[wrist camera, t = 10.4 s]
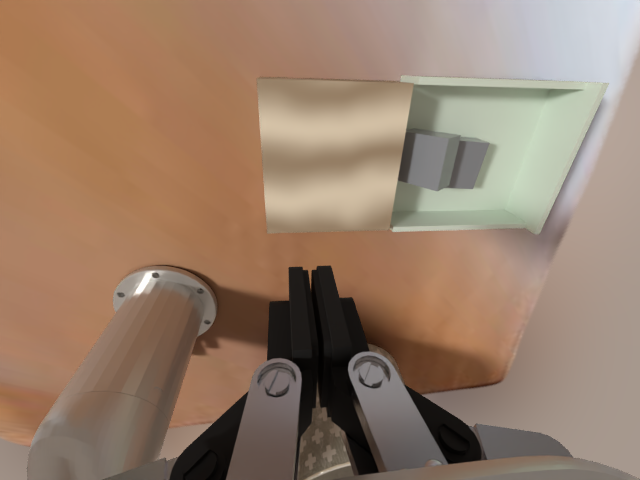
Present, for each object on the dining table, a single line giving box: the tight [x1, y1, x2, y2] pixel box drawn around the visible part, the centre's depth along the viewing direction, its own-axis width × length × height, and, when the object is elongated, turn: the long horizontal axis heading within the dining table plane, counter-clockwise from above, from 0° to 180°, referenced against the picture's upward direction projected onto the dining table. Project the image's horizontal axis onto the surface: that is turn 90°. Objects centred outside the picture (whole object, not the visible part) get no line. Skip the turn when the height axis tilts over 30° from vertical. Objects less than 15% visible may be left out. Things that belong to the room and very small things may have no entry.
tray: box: [390, 75, 609, 234], centre depth 31 cm, size 15×17×6 cm
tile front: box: [398, 128, 461, 191], centre depth 30 cm, size 5×5×2 cm
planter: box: [298, 343, 405, 480], centre depth 42 cm, size 19×19×18 cm
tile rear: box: [445, 137, 490, 189], centre depth 32 cm, size 5×5×2 cm
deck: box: [257, 77, 414, 233], centre depth 30 cm, size 14×13×5 cm
